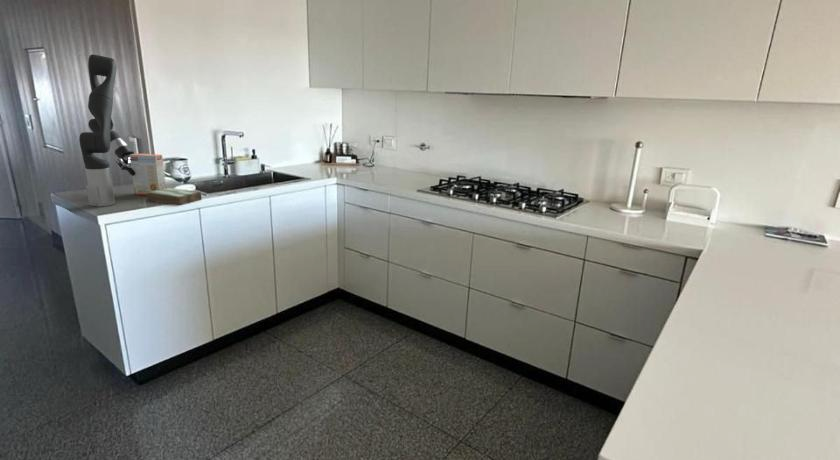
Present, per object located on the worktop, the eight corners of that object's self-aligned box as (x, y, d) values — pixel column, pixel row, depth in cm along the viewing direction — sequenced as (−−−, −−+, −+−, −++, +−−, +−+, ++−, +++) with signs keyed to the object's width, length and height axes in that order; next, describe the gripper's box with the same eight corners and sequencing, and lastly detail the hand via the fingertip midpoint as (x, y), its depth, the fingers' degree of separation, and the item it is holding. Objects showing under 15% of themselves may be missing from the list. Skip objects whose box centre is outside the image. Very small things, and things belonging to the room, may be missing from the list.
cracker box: (167, 194, 239) (162, 154, 233) (159, 196, 233) (155, 155, 227) (142, 192, 240) (137, 152, 234) (134, 194, 234) (128, 154, 228)
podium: (179, 205, 219) (178, 196, 218) (147, 200, 224) (146, 192, 223) (201, 199, 232) (200, 191, 230) (170, 195, 237) (169, 187, 236)
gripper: (111, 145, 226) (132, 170, 226) (136, 143, 239) (156, 167, 239) (105, 155, 229) (125, 180, 229) (130, 152, 242) (149, 176, 242)
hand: (141, 173), depth 234 cm, fingers open, 8 cm apart
